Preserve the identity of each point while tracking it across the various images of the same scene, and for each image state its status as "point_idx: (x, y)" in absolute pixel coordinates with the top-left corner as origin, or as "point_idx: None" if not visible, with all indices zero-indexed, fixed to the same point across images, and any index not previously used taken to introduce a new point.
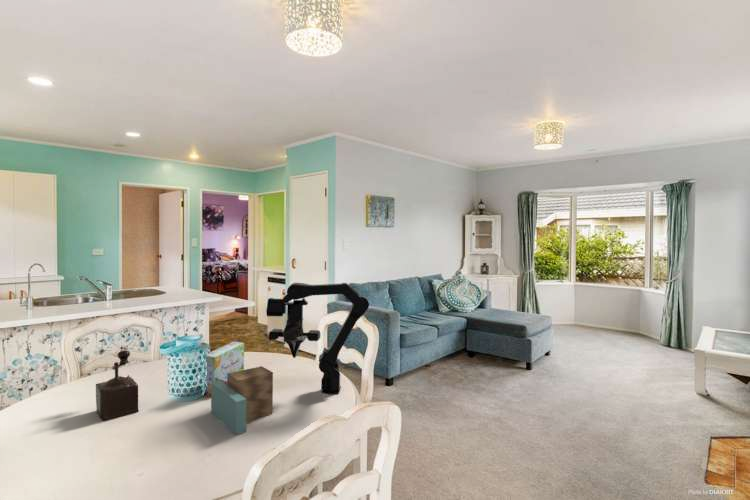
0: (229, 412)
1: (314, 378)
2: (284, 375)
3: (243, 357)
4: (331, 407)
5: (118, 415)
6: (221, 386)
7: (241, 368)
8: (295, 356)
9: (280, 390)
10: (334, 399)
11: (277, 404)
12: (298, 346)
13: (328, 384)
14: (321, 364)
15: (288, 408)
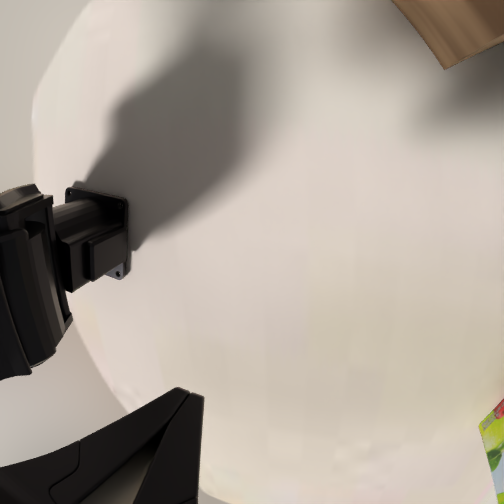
0: None
1: (184, 384)
2: (318, 438)
3: (499, 490)
4: (97, 44)
5: None
6: None
7: (501, 446)
8: (166, 393)
9: (352, 276)
10: (82, 126)
11: (360, 68)
12: (24, 462)
13: (75, 208)
14: (1, 232)
15: (290, 14)
